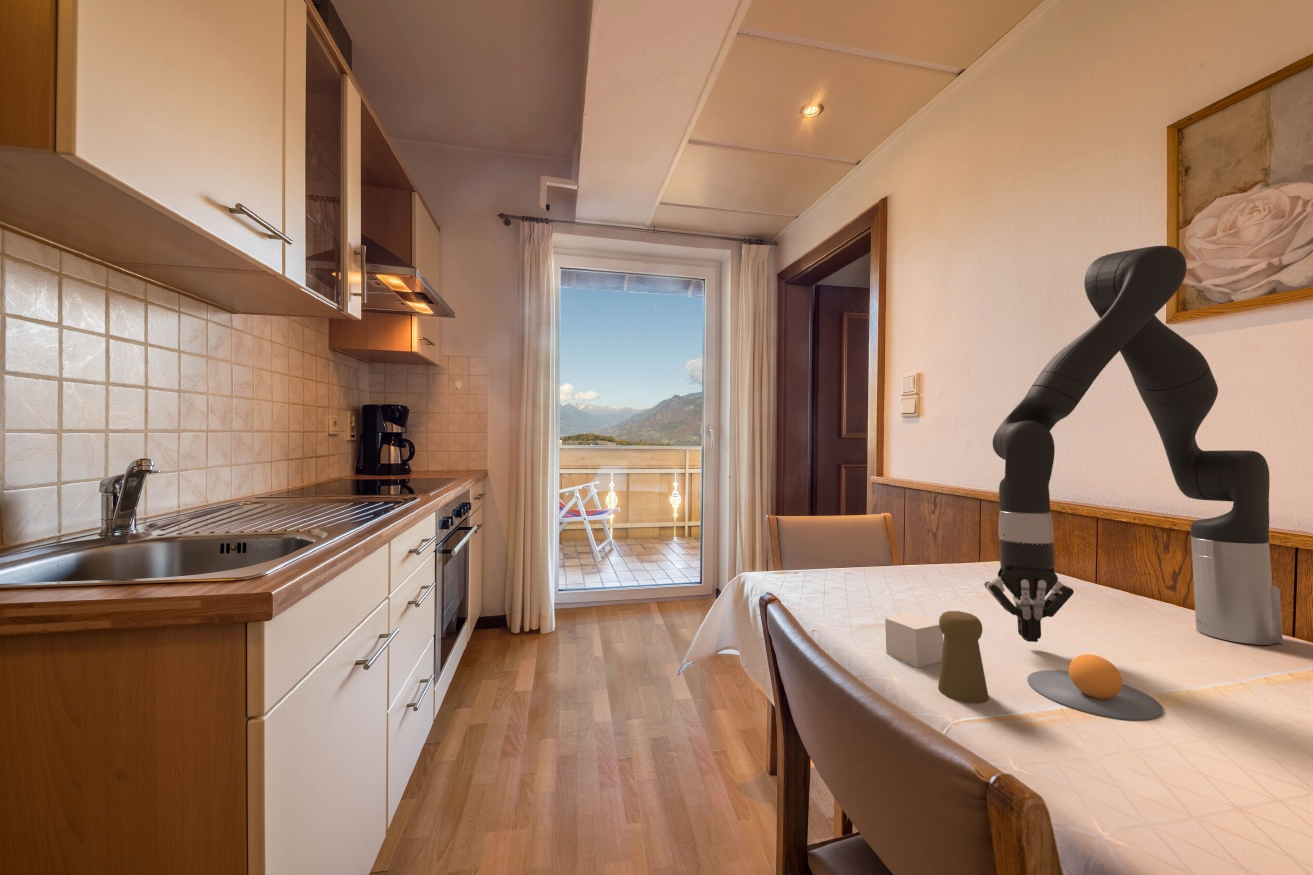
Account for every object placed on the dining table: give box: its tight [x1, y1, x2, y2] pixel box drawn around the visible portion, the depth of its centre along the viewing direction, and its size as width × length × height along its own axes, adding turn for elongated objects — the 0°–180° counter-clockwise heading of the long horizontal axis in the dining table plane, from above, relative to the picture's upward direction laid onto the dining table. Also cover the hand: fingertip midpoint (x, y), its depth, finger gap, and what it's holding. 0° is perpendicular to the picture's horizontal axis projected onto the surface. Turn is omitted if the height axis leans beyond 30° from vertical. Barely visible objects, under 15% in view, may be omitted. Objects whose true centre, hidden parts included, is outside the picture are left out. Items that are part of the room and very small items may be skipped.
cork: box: [937, 610, 990, 704], centre depth 69 cm, size 6×6×11 cm
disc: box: [1027, 669, 1164, 721], centre depth 68 cm, size 14×14×1 cm
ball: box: [1068, 653, 1124, 699], centre depth 67 cm, size 6×6×6 cm
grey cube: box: [884, 613, 944, 668], centre depth 82 cm, size 6×6×6 cm
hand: (1030, 639), depth 84 cm, fingers closed
